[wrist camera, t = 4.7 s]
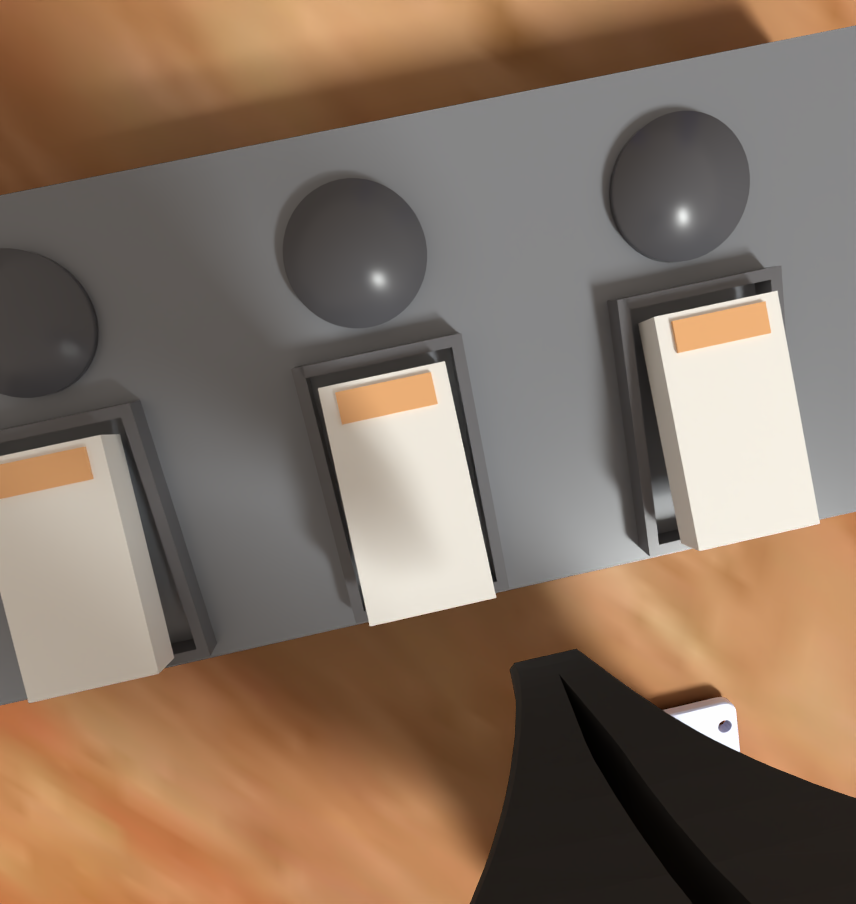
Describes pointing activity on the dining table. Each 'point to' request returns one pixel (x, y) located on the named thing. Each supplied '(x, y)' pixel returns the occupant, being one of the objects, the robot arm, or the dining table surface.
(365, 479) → the rocker middle
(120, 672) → the rocker
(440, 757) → the dining table surface
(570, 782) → the robot arm
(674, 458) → the rocker
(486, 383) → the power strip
